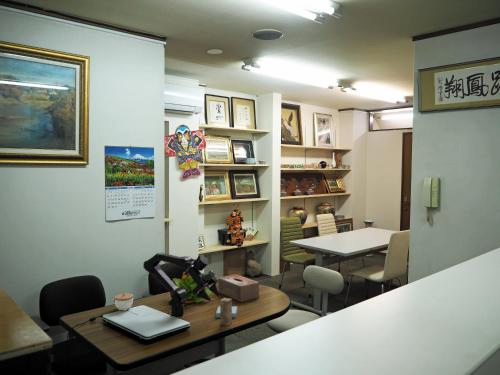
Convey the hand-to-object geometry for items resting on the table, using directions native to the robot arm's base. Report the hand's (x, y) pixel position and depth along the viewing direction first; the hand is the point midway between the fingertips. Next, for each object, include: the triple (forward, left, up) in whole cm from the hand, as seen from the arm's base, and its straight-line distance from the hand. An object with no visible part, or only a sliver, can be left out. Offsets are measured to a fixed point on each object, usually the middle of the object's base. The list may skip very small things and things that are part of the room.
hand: (214, 298), depth 219 cm
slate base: (+5, +11, -13) cm, 18 cm away
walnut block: (+6, -3, -13) cm, 15 cm away
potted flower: (-22, +34, -13) cm, 43 cm away
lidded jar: (-57, +18, -13) cm, 61 cm away
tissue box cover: (+9, +47, -13) cm, 50 cm away
